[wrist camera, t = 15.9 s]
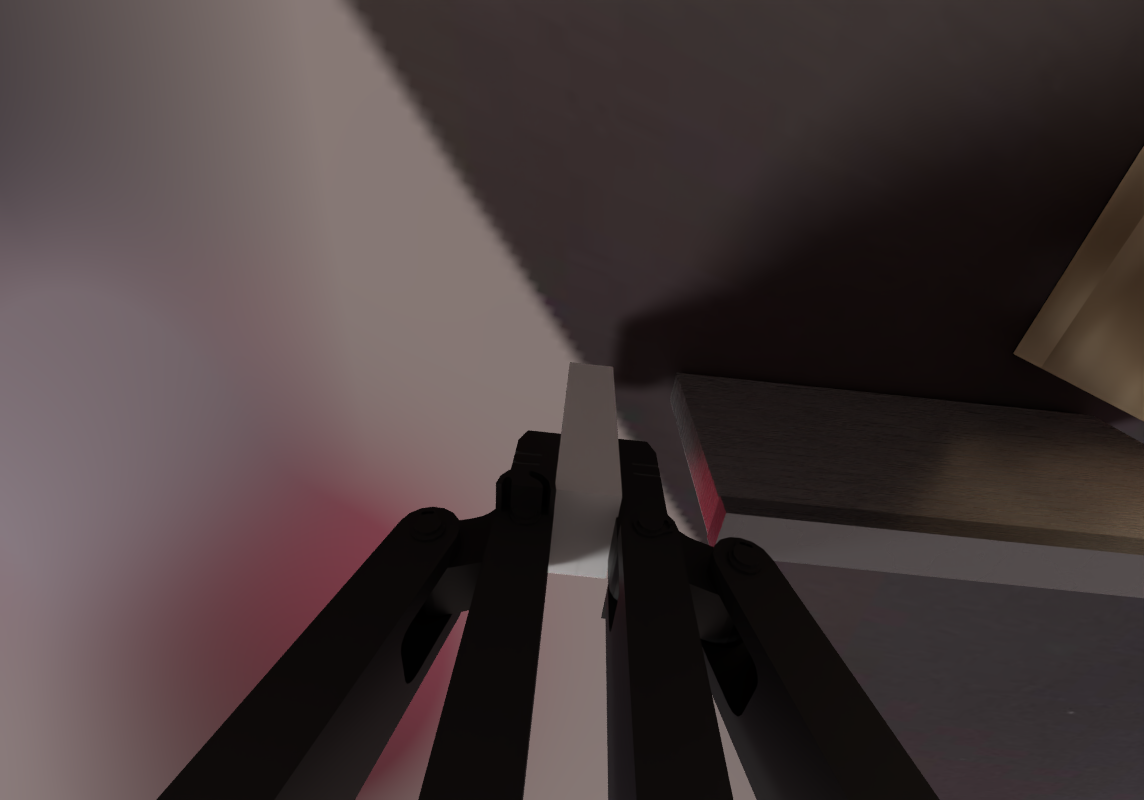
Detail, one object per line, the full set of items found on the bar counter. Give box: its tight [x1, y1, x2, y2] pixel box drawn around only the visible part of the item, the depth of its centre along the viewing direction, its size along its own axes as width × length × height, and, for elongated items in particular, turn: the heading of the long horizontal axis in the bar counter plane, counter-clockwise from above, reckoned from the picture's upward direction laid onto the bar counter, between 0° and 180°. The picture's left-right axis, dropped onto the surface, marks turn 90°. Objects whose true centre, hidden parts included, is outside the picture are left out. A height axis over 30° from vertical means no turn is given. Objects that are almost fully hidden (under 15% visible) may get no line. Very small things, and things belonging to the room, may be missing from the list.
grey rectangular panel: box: [670, 373, 1144, 598], centre depth 14 cm, size 1×16×8 cm, turn 85°
